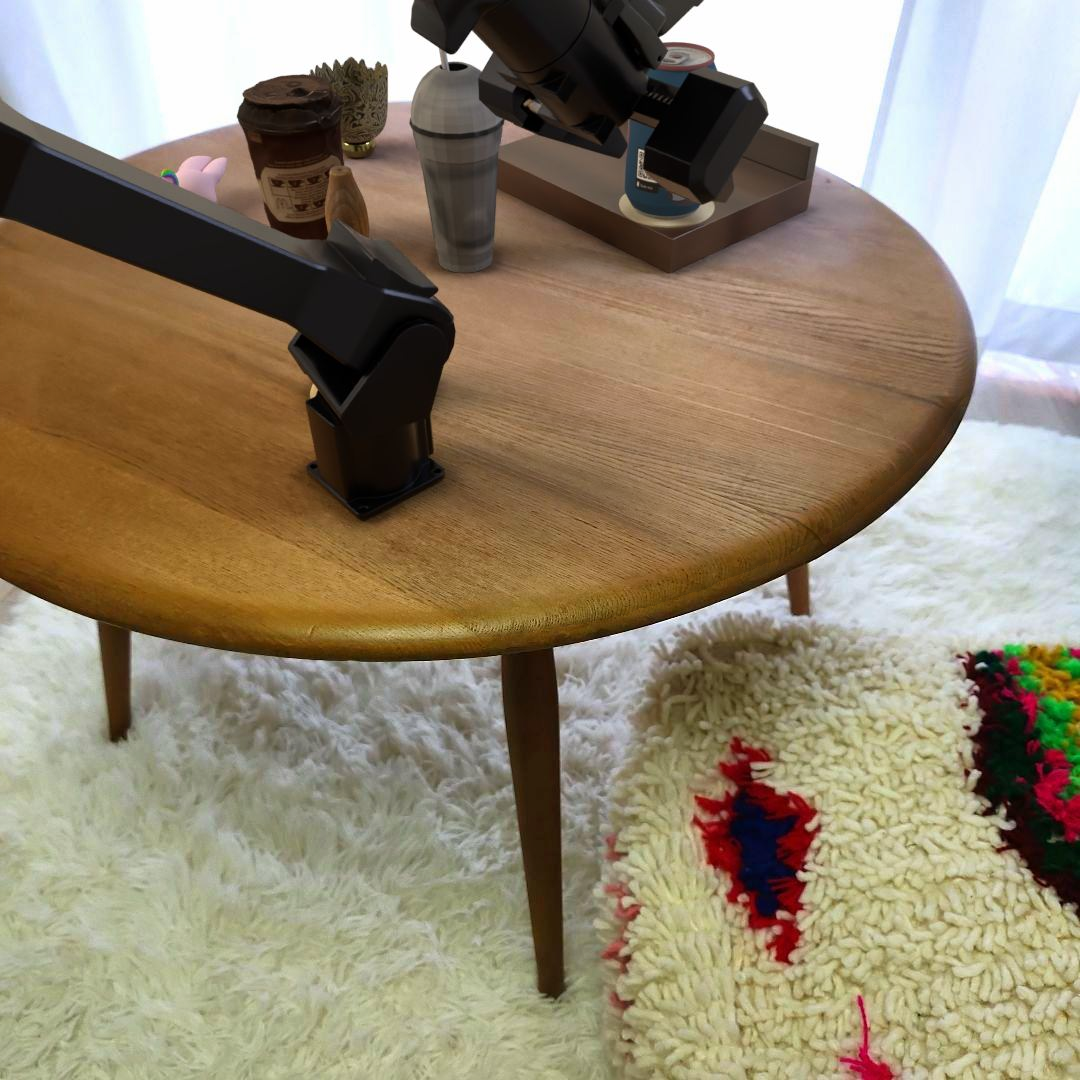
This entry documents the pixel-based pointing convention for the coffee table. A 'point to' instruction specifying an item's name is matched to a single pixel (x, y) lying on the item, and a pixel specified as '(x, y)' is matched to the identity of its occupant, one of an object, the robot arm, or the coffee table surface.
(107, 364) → the coffee table surface
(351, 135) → the cup
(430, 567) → the coffee table surface
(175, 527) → the coffee table surface
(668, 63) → the soda can
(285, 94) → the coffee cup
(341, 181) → the hand bell
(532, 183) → the shelf
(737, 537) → the coffee table surface
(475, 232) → the beverage cup
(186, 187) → the rabbit figure
